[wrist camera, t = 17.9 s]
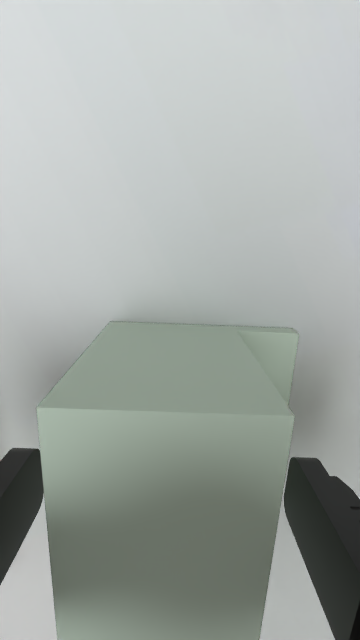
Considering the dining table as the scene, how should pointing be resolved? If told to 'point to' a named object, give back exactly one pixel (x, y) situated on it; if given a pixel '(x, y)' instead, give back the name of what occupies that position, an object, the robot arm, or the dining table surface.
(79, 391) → the cover
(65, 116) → the dining table surface
